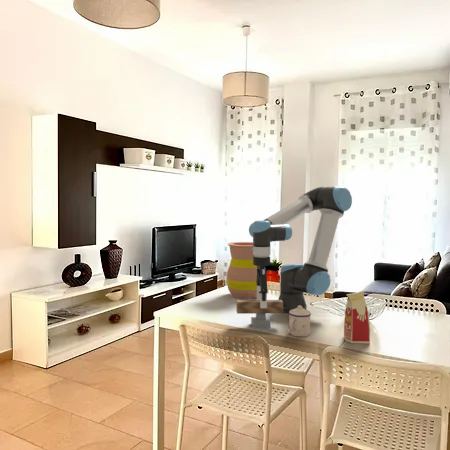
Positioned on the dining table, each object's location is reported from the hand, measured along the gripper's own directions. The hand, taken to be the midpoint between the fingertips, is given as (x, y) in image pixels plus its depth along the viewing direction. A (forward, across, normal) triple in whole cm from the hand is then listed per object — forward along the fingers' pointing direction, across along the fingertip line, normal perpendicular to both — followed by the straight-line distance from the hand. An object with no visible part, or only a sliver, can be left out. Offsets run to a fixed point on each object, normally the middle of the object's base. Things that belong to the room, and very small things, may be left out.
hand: (261, 304), depth 190 cm
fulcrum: (+10, 0, 0) cm, 10 cm away
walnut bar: (+4, 0, -1) cm, 4 cm away
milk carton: (+10, +19, +36) cm, 42 cm away
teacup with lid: (+10, +12, +14) cm, 21 cm away
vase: (+10, -58, -2) cm, 59 cm away
